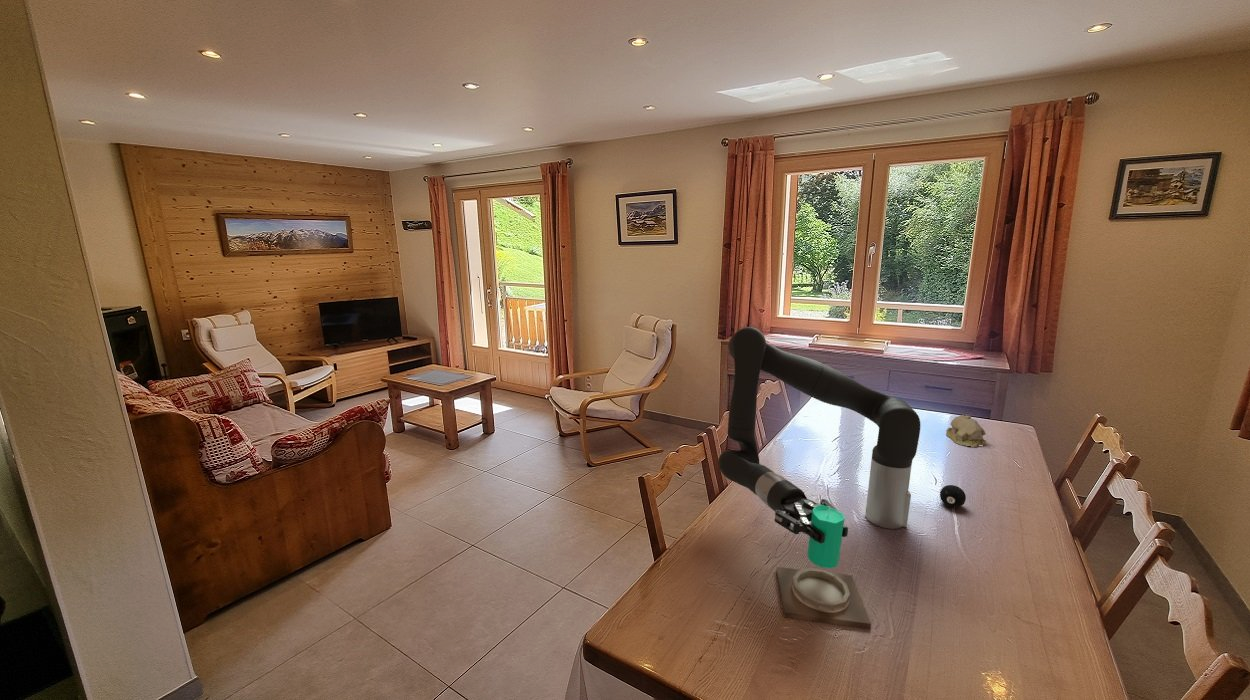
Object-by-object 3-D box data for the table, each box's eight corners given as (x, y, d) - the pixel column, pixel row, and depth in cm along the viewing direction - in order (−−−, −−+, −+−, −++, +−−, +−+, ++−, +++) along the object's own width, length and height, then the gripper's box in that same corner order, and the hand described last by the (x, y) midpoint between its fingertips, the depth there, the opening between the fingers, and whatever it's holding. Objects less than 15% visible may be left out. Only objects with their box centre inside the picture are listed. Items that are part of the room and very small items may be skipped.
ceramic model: (993, 447, 174) (997, 421, 172) (964, 448, 173) (968, 422, 171) (963, 432, 188) (967, 408, 185) (936, 433, 187) (940, 409, 185)
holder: (851, 580, 106) (852, 568, 105) (870, 628, 92) (872, 615, 92) (776, 571, 109) (777, 559, 108) (784, 617, 95) (785, 604, 95)
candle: (802, 550, 101) (808, 499, 98) (829, 548, 102) (835, 498, 99) (815, 569, 95) (822, 515, 93) (844, 567, 96) (851, 514, 93)
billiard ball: (936, 506, 135) (939, 486, 134) (941, 498, 139) (943, 479, 138) (962, 514, 131) (965, 494, 130) (965, 505, 135) (968, 486, 134)
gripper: (754, 485, 107) (807, 526, 91) (805, 474, 112) (864, 512, 96) (752, 515, 108) (804, 560, 93) (802, 503, 113) (860, 544, 98)
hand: (834, 535), depth 95 cm, fingers closed on candle, 5 cm apart
